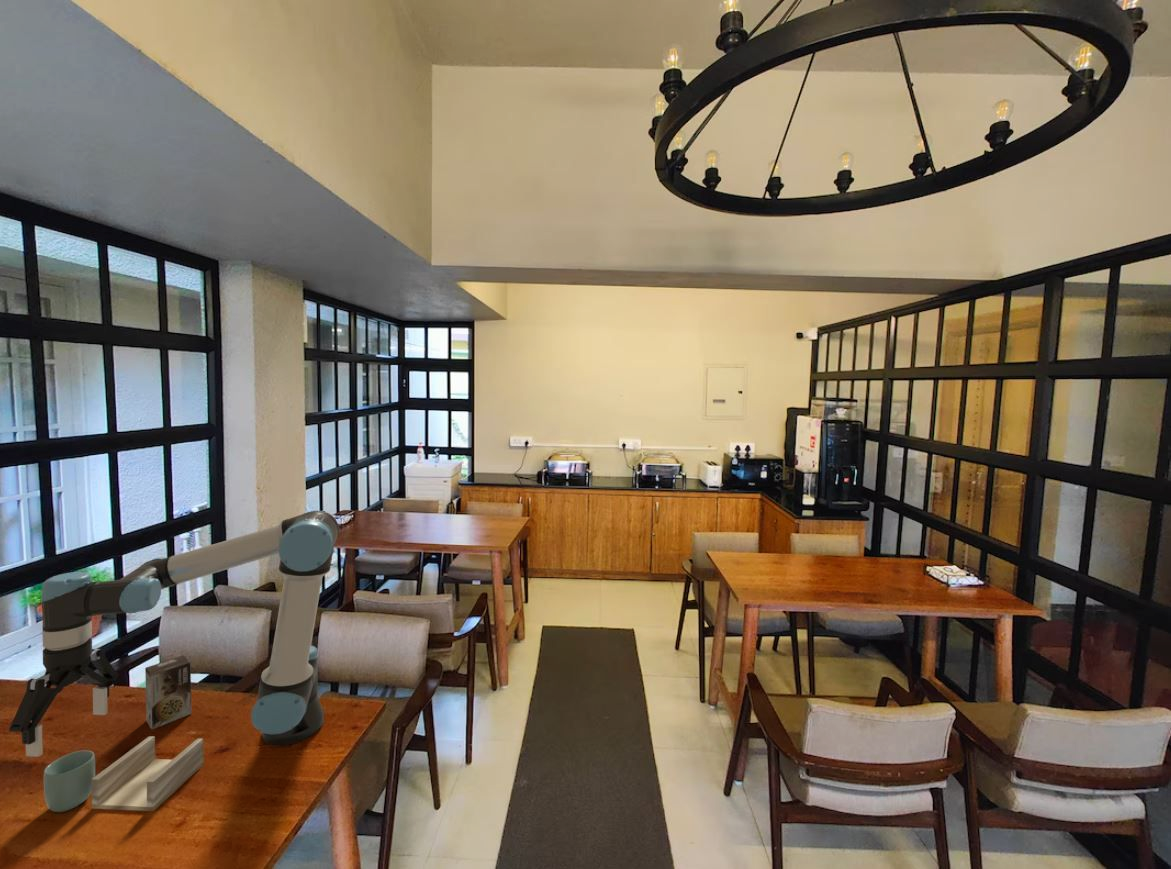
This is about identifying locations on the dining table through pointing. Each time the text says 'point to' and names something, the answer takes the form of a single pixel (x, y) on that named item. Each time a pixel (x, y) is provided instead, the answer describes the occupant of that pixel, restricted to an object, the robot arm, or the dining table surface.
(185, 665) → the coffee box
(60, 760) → the cup
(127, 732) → the dining table surface
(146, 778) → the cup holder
